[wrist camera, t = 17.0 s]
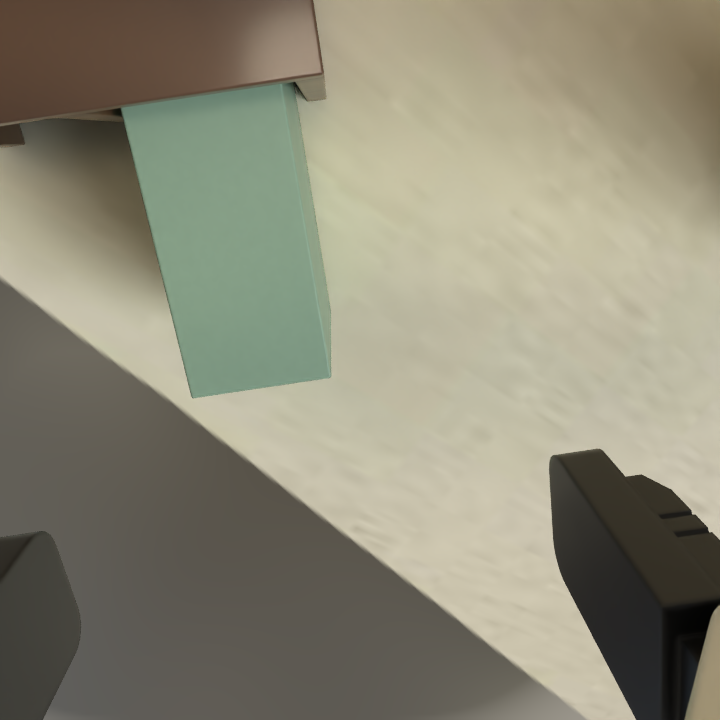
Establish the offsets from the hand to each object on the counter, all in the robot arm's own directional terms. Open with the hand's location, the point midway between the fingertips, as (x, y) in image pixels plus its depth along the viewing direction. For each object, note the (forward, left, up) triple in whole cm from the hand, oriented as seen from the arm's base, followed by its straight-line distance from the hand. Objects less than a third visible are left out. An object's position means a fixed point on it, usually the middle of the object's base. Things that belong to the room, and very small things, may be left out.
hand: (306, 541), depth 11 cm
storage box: (+5, -1, -28) cm, 28 cm away
